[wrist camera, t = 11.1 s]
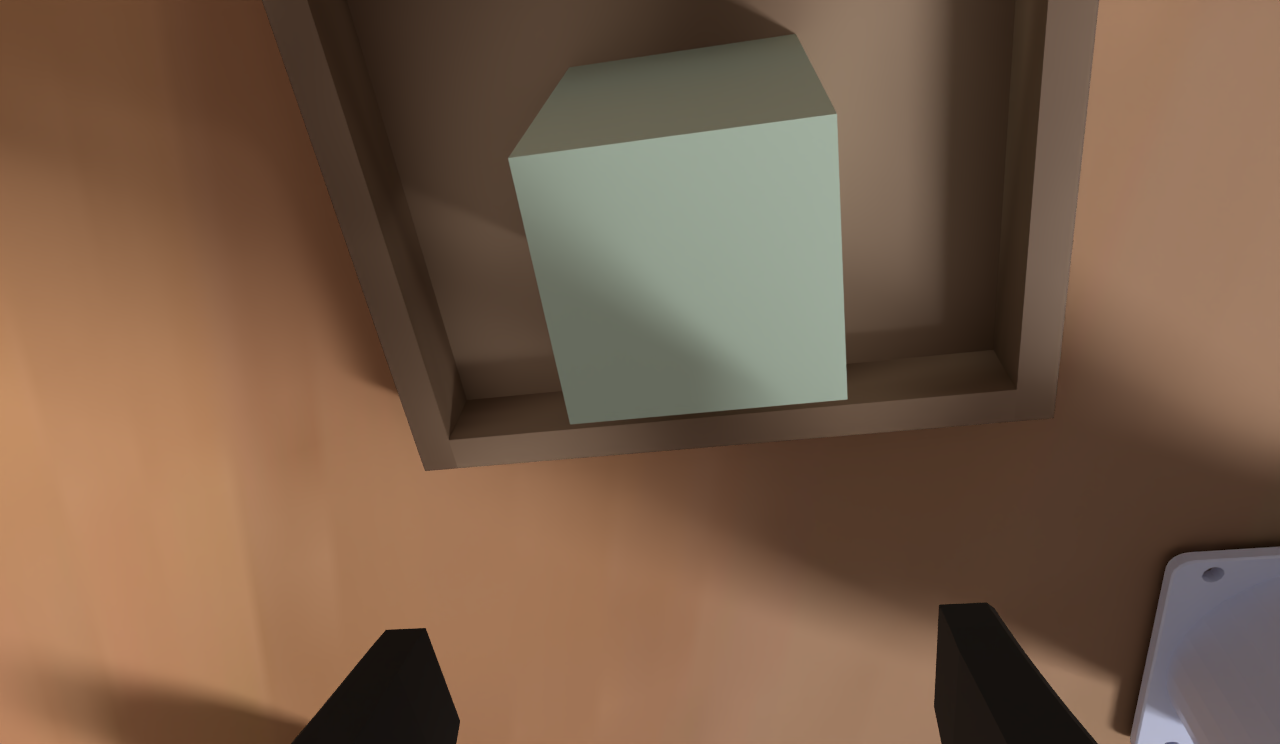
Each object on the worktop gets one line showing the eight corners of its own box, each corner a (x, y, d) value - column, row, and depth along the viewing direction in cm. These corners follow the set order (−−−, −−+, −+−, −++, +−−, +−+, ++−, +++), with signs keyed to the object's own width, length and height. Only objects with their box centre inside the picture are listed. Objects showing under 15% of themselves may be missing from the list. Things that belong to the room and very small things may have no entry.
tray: (1072, -261, 14) (1128, -280, 12) (1021, 365, 20) (1054, 418, 18) (280, -115, 16) (223, -111, 14) (449, 418, 22) (424, 471, 20)
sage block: (795, 33, 16) (836, 113, 11) (807, 249, 18) (847, 399, 13) (569, 67, 17) (507, 158, 12) (607, 271, 19) (570, 424, 14)
